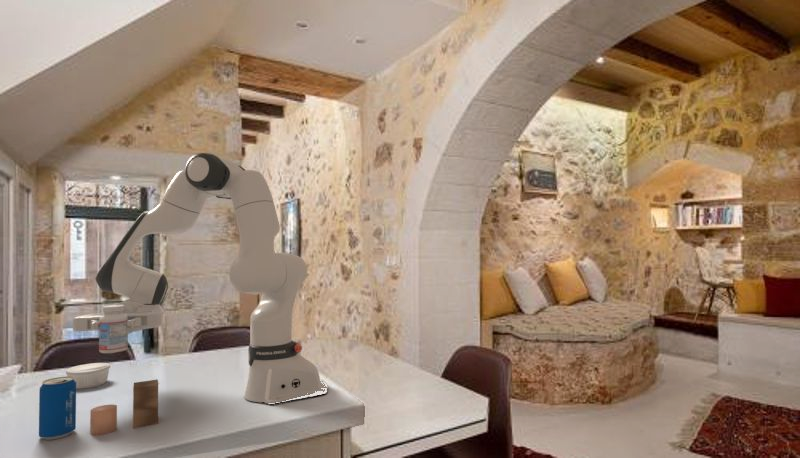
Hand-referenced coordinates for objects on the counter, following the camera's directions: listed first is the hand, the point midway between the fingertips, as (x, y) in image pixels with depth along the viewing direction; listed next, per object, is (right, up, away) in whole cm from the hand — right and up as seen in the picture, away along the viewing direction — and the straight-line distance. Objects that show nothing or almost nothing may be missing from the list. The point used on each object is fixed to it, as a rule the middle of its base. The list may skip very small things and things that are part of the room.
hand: (112, 325), depth 113 cm
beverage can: (-4, -22, -13) cm, 26 cm away
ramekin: (-24, -24, +25) cm, 42 cm away
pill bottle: (0, -7, +1) cm, 7 cm away
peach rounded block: (+5, -21, -11) cm, 25 cm away
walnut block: (+12, -21, -7) cm, 25 cm away
